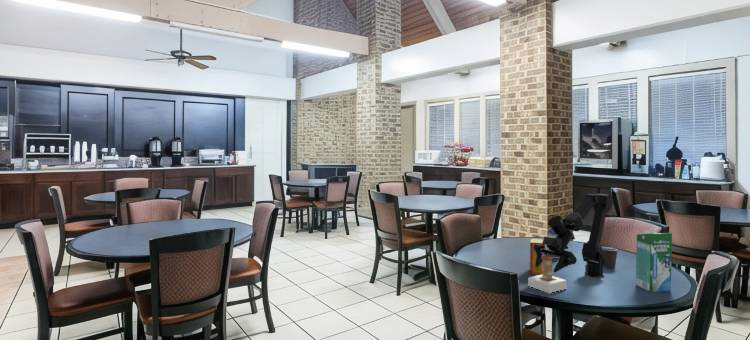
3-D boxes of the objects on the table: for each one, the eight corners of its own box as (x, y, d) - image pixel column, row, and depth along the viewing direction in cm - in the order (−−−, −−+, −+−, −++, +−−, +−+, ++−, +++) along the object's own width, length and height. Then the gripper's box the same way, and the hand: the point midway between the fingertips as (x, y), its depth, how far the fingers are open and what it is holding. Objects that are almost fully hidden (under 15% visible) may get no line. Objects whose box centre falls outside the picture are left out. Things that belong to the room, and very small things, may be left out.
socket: (544, 282, 185) (544, 273, 185) (566, 289, 175) (566, 280, 175) (528, 286, 180) (528, 277, 179) (549, 294, 170) (549, 284, 170)
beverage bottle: (566, 258, 224) (566, 222, 223) (551, 258, 224) (551, 222, 223) (559, 254, 232) (560, 220, 231) (545, 254, 233) (545, 220, 232)
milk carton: (655, 284, 180) (656, 228, 179) (671, 291, 171) (672, 232, 170) (635, 284, 180) (636, 229, 179) (650, 292, 171) (651, 233, 170)
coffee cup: (620, 269, 203) (621, 249, 202) (603, 268, 204) (603, 249, 204) (614, 265, 211) (614, 246, 210) (597, 264, 212) (597, 245, 212)
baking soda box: (531, 268, 206) (531, 237, 205) (545, 270, 203) (545, 238, 202) (530, 274, 197) (530, 241, 196) (544, 275, 195) (544, 242, 194)
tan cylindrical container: (553, 287, 178) (553, 255, 178) (552, 290, 174) (552, 257, 174) (542, 285, 181) (542, 254, 180) (540, 288, 177) (540, 256, 176)
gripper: (535, 226, 186) (518, 253, 181) (572, 233, 170) (555, 263, 165) (546, 241, 191) (530, 268, 186) (584, 249, 174) (567, 279, 169)
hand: (545, 269), depth 176 cm, fingers open, 9 cm apart
